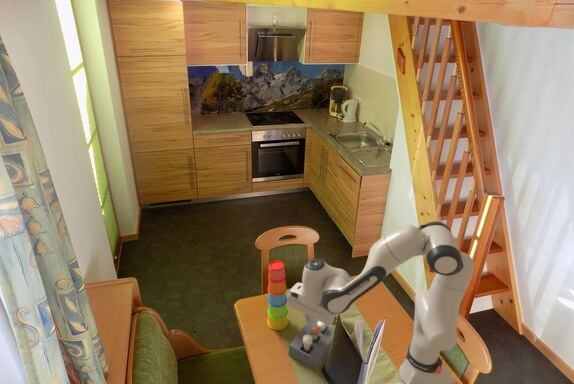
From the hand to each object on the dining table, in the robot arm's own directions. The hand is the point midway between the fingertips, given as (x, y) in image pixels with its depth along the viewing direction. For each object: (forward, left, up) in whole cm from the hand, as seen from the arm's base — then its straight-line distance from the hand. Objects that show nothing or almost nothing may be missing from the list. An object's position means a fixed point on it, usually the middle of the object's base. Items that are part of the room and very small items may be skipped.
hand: (309, 321), depth 156 cm
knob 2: (0, -13, -20) cm, 24 cm away
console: (0, -7, -22) cm, 23 cm away
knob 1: (0, 0, -16) cm, 16 cm away
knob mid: (0, -7, -16) cm, 18 cm away
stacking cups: (+21, -10, -22) cm, 32 cm away
